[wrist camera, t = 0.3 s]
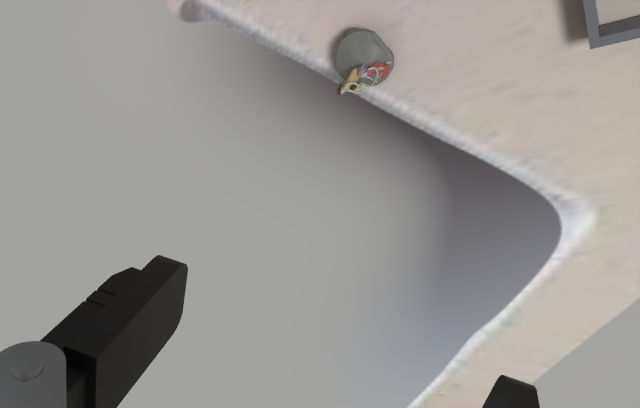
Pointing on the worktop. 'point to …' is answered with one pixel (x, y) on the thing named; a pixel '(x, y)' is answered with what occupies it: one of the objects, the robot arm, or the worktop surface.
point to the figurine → (362, 61)
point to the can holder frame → (608, 28)
